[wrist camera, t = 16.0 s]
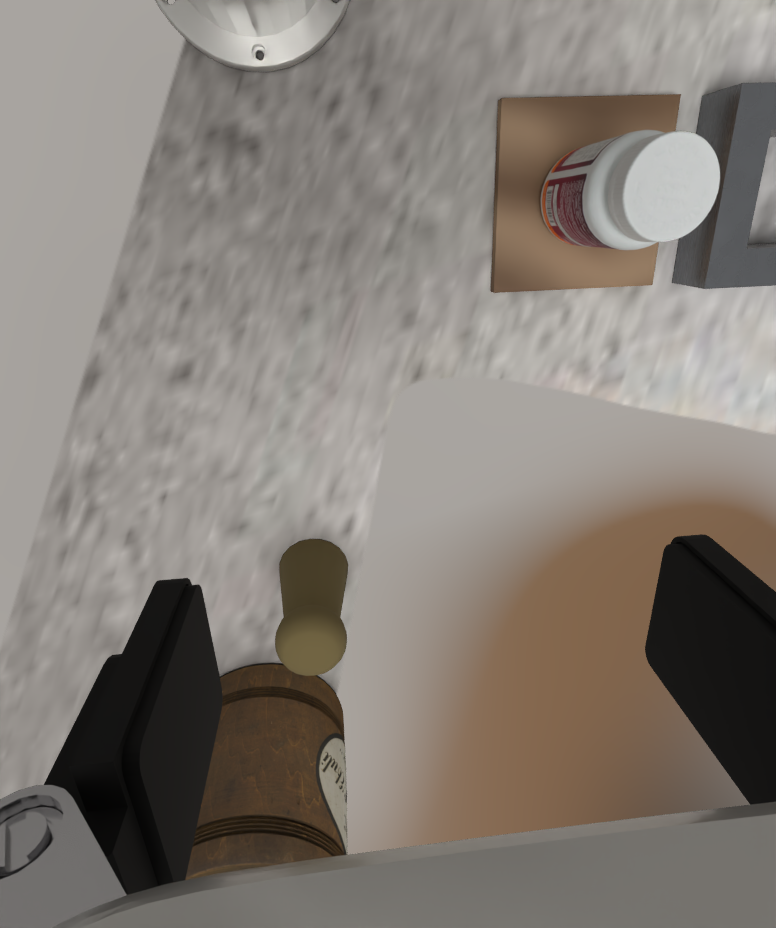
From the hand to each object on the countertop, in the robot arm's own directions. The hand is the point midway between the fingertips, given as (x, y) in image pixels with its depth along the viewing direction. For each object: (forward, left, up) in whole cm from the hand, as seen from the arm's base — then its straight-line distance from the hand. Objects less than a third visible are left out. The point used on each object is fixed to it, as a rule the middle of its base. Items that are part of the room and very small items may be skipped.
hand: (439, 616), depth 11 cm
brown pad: (-8, +16, -33) cm, 38 cm away
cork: (+21, -5, -34) cm, 40 cm away
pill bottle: (-8, +16, -33) cm, 37 cm away
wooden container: (+38, -11, -34) cm, 52 cm away
